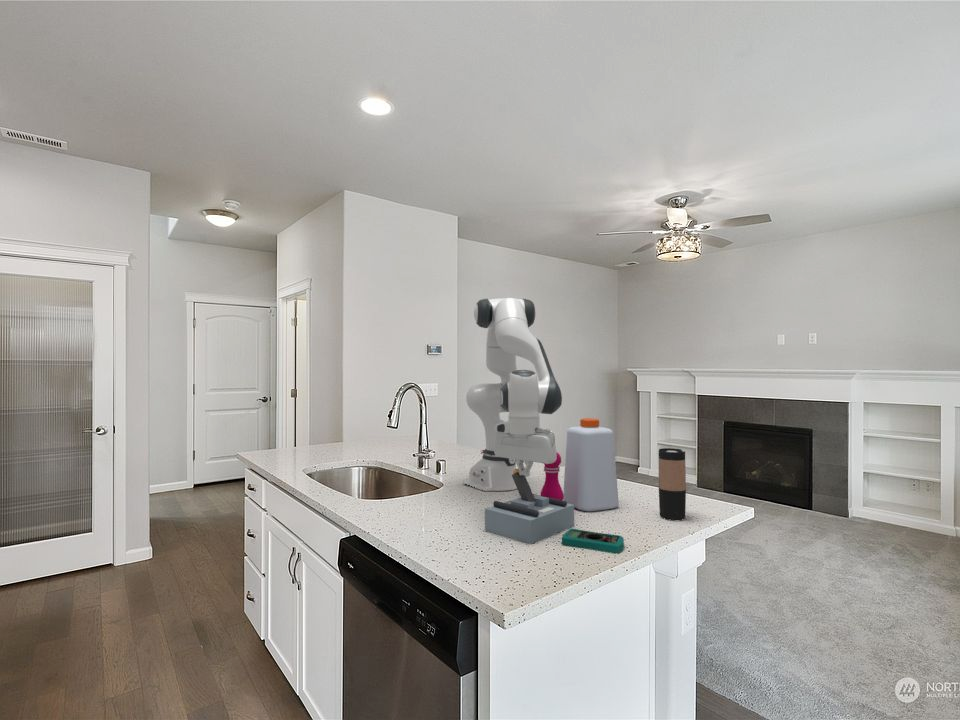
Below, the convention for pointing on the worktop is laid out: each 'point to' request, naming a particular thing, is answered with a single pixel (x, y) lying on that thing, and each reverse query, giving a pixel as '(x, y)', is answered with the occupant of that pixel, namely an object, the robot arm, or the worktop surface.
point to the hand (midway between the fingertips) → (524, 476)
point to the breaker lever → (523, 487)
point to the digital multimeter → (593, 540)
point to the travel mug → (672, 483)
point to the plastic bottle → (590, 467)
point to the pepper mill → (552, 480)
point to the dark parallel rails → (526, 510)
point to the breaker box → (529, 520)
